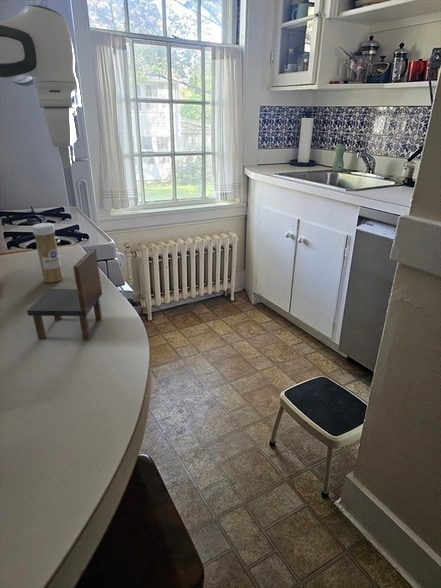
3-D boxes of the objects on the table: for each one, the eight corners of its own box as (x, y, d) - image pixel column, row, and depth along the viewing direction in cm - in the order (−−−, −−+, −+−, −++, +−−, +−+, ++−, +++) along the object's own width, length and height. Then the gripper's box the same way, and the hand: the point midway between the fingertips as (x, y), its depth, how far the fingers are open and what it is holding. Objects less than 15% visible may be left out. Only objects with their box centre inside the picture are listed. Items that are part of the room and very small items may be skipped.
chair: (34, 340, 69) (16, 266, 63) (55, 316, 77) (41, 248, 71) (90, 341, 68) (77, 266, 62) (105, 317, 77) (95, 248, 71)
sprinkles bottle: (54, 284, 91) (43, 228, 85) (39, 281, 93) (26, 226, 87) (67, 277, 95) (57, 223, 89) (52, 275, 96) (42, 221, 91)
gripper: (48, 99, 93) (59, 161, 99) (36, 96, 75) (49, 171, 81) (76, 100, 94) (85, 160, 100) (70, 97, 76) (81, 170, 82)
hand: (69, 165), depth 90 cm, fingers open, 8 cm apart
